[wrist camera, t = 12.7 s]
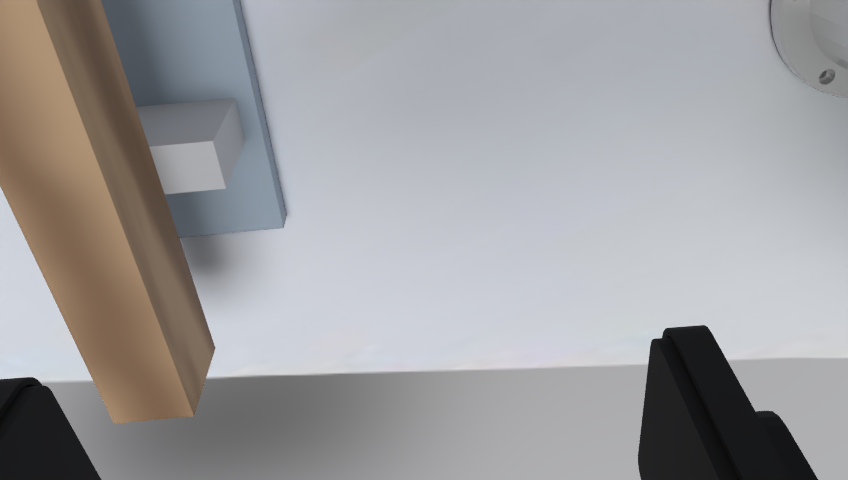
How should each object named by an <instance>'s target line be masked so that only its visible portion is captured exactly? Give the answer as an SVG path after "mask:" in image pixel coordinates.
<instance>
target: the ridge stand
mask: <svg viewBox="0 0 848 480" xmlns="http://www.w3.org/2000/svg"><path fill="white" fill-rule="evenodd" d="M101 3H102V6H103V9H104V12H105V15H106V18H107V21H108V24H109V27H110V30H111V33H112V36H113V39H114V42H115V45H116V48H117V51H118V54H119V57H120V60H121V63H122V66H123V69H124V72H125V76H126V79H127V82H128V85H129V88H130V91H131V94H132V97H133V100H134V103H135V106H136V109H137V112H138V115H139V118H140V121H141V124H142V127H143V130H144V133H145V136H146V139H147V142H148V145H149V149H150V152H151V155H152V158H153V161H154V164H155V167H156V170H157V173H158V176H159V179H160V182H161V185H162V188H163V191H164V194H165V197H166V200H167V203H168V206H169V209H170V212H171V215H172V218H173V221H174V225H175V228H176V231H177V234H178V237H179V238H181V237H192V236H202V235H213V234H224V233H235V232H245V231H256V230H267V229H278V228H284V224H285V220H286V216H287V215H286V210H285V206H284V201H283V196H282V192H281V187H280V183H279V178H278V174H277V169H276V165H275V160H274V155H273V151H272V146H271V142H270V137H269V133H268V128H267V123H266V119H265V114H264V110H263V105H262V101H261V96H260V92H259V87H258V82H257V78H256V73H255V69H254V64H253V60H252V55H251V51H250V46H249V41H248V37H247V32H246V28H245V23H244V19H243V14H242V9H241V5H240V0H101Z"/></svg>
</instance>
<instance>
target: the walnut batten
mask: <svg viewBox="0 0 848 480" xmlns="http://www.w3.org/2000/svg"><path fill="white" fill-rule="evenodd" d="M0 186H1V189H2V191H3V193H4V195H5V197H6V199H7V201H8V203H9V205H10V207H11V209H12V212H13V214H14V216H15V218H16V220H17V222H18V224H19V226H20V228H21V230H22V232H23V235H24V237H25V239H26V241H27V243H28V245H29V247H30V249H31V251H32V253H33V255H34V258H35V260H36V262H37V264H38V266H39V268H40V270H41V272H42V274H43V276H44V278H45V281H46V283H47V285H48V287H49V289H50V291H51V293H52V295H53V297H54V299H55V301H56V304H57V306H58V308H59V310H60V312H61V314H62V316H63V318H64V320H65V322H66V324H67V327H68V329H69V331H70V333H71V335H72V337H73V339H74V341H75V343H76V345H77V347H78V350H79V352H80V354H81V356H82V358H83V360H84V362H85V364H86V366H87V368H88V370H89V373H90V375H91V377H92V379H93V381H94V383H95V385H96V387H97V389H98V391H99V393H100V395H101V398H102V400H103V402H104V404H105V406H106V408H107V410H108V412H109V414H110V416H111V418H112V421H113V423H125V422H135V421H146V420H157V419H168V418H178V417H189V416H194V414H195V411H196V408H197V405H198V402H199V398H200V395H201V392H202V389H203V386H204V382H205V379H206V376H207V373H208V369H209V366H210V363H211V360H212V357H213V353H214V350H215V346H214V343H213V340H212V337H211V334H210V331H209V328H208V325H207V322H206V319H205V316H204V313H203V310H202V307H201V304H200V301H199V298H198V294H197V291H196V288H195V285H194V282H193V279H192V276H191V273H190V270H189V267H188V264H187V261H186V258H185V255H184V252H183V249H182V246H181V243H180V240H179V237H178V234H177V231H176V228H175V225H174V221H173V218H172V215H171V212H170V209H169V206H168V203H167V200H166V197H165V194H164V191H163V188H162V185H161V182H160V179H159V176H158V173H157V170H156V167H155V164H154V161H153V158H152V155H151V152H150V149H149V145H148V142H147V139H146V136H145V133H144V130H143V127H142V124H141V121H140V118H139V115H138V112H137V109H136V106H135V103H134V100H133V97H132V94H131V91H130V88H129V85H128V82H127V79H126V76H125V72H124V69H123V66H122V63H121V60H120V57H119V54H118V51H117V48H116V45H115V42H114V39H113V36H112V33H111V30H110V27H109V24H108V21H107V18H106V15H105V12H104V9H103V6H102V3H101V0H0Z"/></svg>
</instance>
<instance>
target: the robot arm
mask: <svg viewBox="0 0 848 480" xmlns="http://www.w3.org/2000/svg"><path fill="white" fill-rule="evenodd" d="M771 24H772V31H773V38H774V41H775V43H776V46H777V49H778V51H779V54H780V56H781V58H782V59H783V60H784V62H785V63H786V65H787V66H788V67H789V69H790V70H791V71H792V72H793V73H794V74H795V75H797V76H798V77H799V78H800V79H801V80H803V81H804V82H805V83H807V84H809V85H810V86H812V87H813V88H815V89H817V90H819V91H821V92H824V93H827V94H831V95H834V96H837V97H845V98H848V0H772V5H771ZM638 465H639V472H640V477H641V480H818V479H817V477H816V475H815V474H814V472H813V470H812V469H811V467H810V465H809V464H808V462H807V460H806V459H805V457H804V455H803V453H802V452H801V450H800V449H799V447H798V445H797V443H796V442H795V440H794V438H793V437H792V435H791V433H790V432H789V430H788V428H787V427H786V425H785V424H784V423H783V421H782V420H781V418H780V417H779V416H778V415H777V414H775V413H774V412H772V411H758V412H755V410H754V408H753V407H752V405H751V403H750V401H749V399H748V398H747V396H746V394H745V392H744V390H743V389H742V387H741V385H740V383H739V381H738V380H737V378H736V376H735V374H734V373H733V371H732V369H731V367H730V365H729V363H728V362H727V360H726V358H725V356H724V354H723V353H722V351H721V349H720V347H719V345H718V344H717V342H716V340H715V338H714V336H713V335H712V333H711V331H710V330H709V329H708V327H706V326H705V325H702V326H689V327H676V328H666V329H665V330H664V332H663V336H662V338H660V339H653V340H652V342H651V346H650V355H649V364H648V373H647V382H646V391H645V400H644V408H643V417H642V427H641V435H640V444H639V453H638ZM0 480H101V479H100V477H99V475H98V473H97V471H96V470H95V468H94V466H93V465H92V463H91V461H90V459H89V457H88V455H87V454H86V452H85V450H84V448H83V446H82V445H81V443H80V441H79V439H78V438H77V436H76V434H75V432H74V430H73V429H72V427H71V425H70V423H69V421H68V420H67V418H66V416H65V414H64V413H63V411H62V409H61V407H60V406H59V404H58V402H57V400H56V398H55V397H54V395H53V393H52V391H51V390H50V389H49V388H48V387H46V386H42V384H41V383H40V382H39V381H38V380H37V379H35V378H33V377H27V378H14V379H1V380H0Z"/></svg>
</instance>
